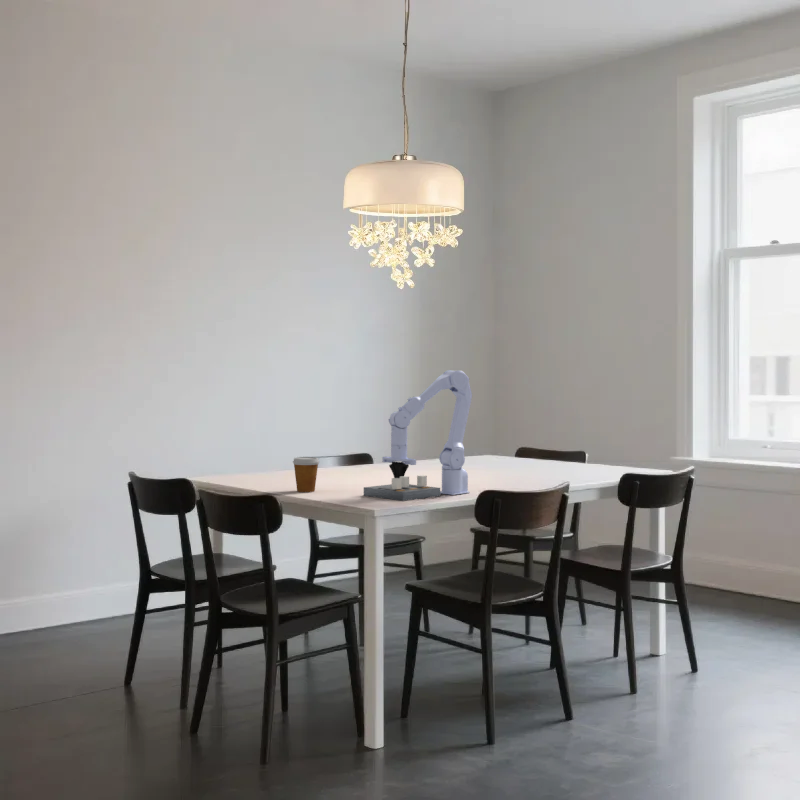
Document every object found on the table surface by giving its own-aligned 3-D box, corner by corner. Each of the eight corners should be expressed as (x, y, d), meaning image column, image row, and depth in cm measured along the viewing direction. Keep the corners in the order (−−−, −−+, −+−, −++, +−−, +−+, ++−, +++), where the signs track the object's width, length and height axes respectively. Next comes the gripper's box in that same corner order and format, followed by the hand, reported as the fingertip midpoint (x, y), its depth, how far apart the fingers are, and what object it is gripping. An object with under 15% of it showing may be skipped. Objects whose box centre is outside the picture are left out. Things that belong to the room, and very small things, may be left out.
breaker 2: (421, 485, 368) (421, 475, 368) (426, 485, 367) (426, 475, 367) (417, 485, 367) (417, 475, 366) (422, 486, 365) (422, 476, 365)
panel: (400, 491, 378) (400, 482, 378) (440, 496, 365) (440, 487, 365) (363, 495, 364) (363, 486, 364) (403, 500, 351) (403, 491, 351)
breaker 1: (396, 487, 359) (396, 477, 359) (401, 488, 357) (401, 478, 357) (391, 488, 357) (391, 478, 357) (396, 489, 356) (396, 478, 355)
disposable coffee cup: (311, 493, 369) (312, 459, 369) (287, 492, 372) (288, 458, 372) (323, 490, 378) (323, 457, 377) (300, 489, 381) (300, 456, 381)
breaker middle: (404, 485, 365) (404, 475, 365) (409, 486, 364) (409, 476, 364) (399, 486, 364) (399, 476, 363) (404, 487, 362) (404, 477, 362)
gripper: (376, 444, 367) (376, 483, 367) (406, 447, 357) (406, 486, 358) (390, 443, 372) (390, 481, 373) (420, 446, 362) (419, 485, 363)
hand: (398, 484), depth 365 cm, fingers closed
